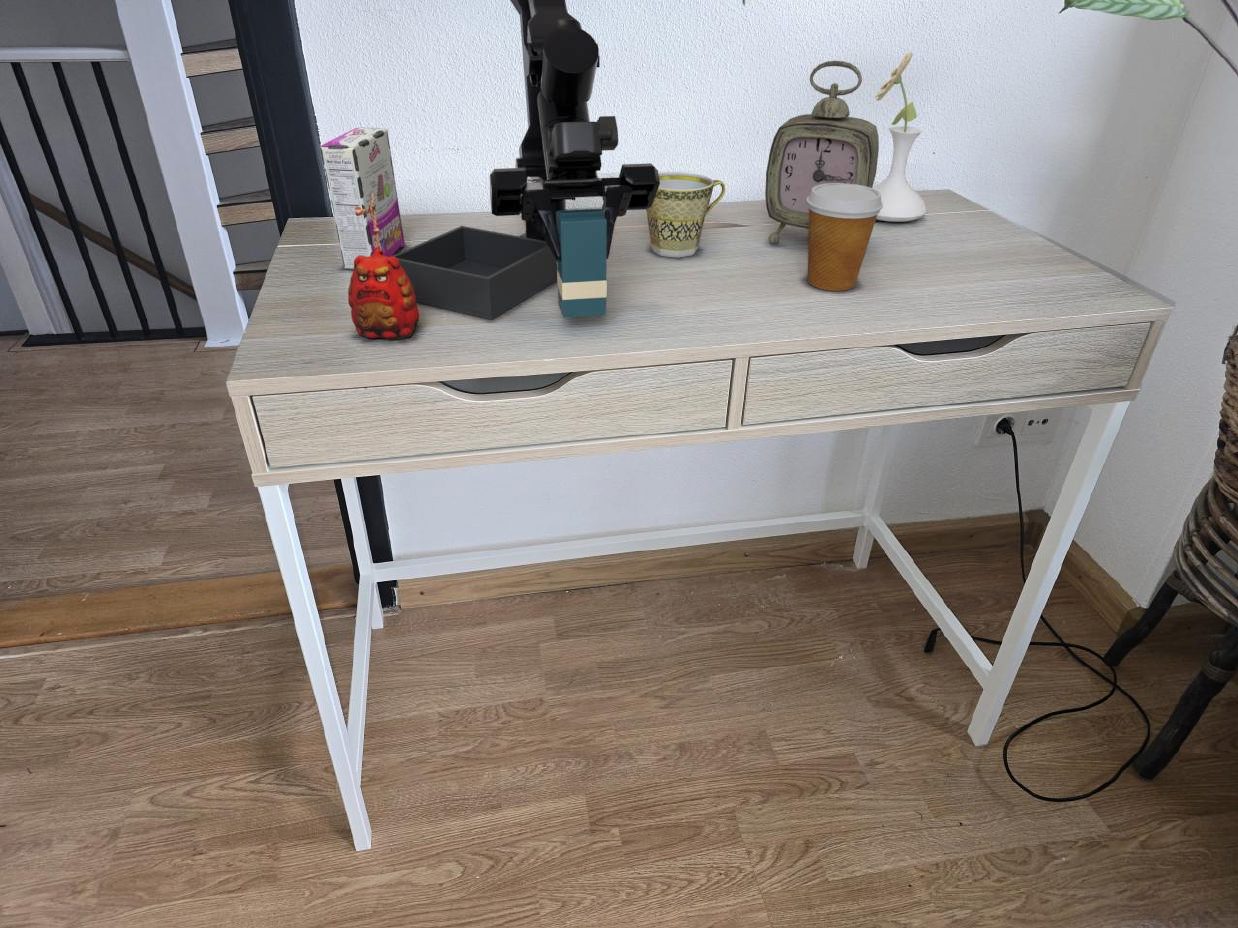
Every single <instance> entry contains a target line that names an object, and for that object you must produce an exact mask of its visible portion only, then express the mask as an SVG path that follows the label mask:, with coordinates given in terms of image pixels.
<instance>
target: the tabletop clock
mask: <svg viewBox="0 0 1238 928" xmlns="http://www.w3.org/2000/svg"><path fill="white" fill-rule="evenodd" d="M828 67H838V68H839V67H841V68H846V69H849V70H851V71H853V72H854V73H855V75H856V77H857V79H858V81H857V84H856V85H855V86H852V87H851V88H847V89H839V84H838V83H837V82H835V83H832V84H831V85H830V88H825V87H821V86H819V85H818V84H817V83H816V82H815V80H814V76H815V75H816V73H818V72H819V71H820V70H821V69H824V68H828ZM809 82H810V86H811V87H812V88H813V89H814V91H816V92H818V93H820V94H822V95H827V96H828V97H823V98H821V99H820V100H819V101H817V103H816V104H815V105H814V107H813V109H812V111H811V113H805V114H800V115H796V116H793V117H791V118H788V120H787V121H785V122H784V123H782V125H780V126H779V127H778V129H777V131H776V133H775V135H774V136H773V139H772V142H771V146H770V149H769V155H768V160H767V166H766V171H765V189H764V190H765V192H764V196H765V197H764V198H765V207H766V212H767V214H768V218H770V219H771V220H773V221H775V222H777V223H779V226H778V228H777V229H776V231H775V232H771V233H769V235H768V241H769V243H770V244H772V245H775V244H778V243H779V241H780V233H781V232H782V231H783V229H784V228H785V227H786V226H791V227H796V228H801V229H806V230H809V208H808V203H807V201H806V200H807V197H808V196H810V193H811V190H812V188H813V187H814V186H817V185H821V184H827V183H846V184H856V185H862V186H866V187H870V188H873V187H874V184H875V178H876V175H877V170H878V159H879V150H880V139H879V132H878V128H877V125H875V124H874V123H872V122H871V121H869V120H866V119H863V118H860V117H854V116H850V108H849V105H848V103H847V101H845V100H844V99H843V98H840V97H841V96H846V95H850V94H853V93H854V92H855V91H857V90H858V89H859V87H861V85H862V82H863V76H862V73H861V71H860V70H859V68H858V67H857V66H856V65H854V64H853V63H851V62H848V61H844V60H828V61H824V62H821V63H820V64H818V65H817V66H816V67H814V68H813V70H812V71H811V73H810V75H809ZM839 96H840V97H839Z"/></svg>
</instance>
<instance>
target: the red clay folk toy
mask: <svg viewBox="0 0 1238 928" xmlns="http://www.w3.org/2000/svg"><path fill="white" fill-rule="evenodd" d="M370 195H371V198H372V199H371V200H372V201H371V203H370V204H369V209H367V210H366V209H361V208H360V207H358V206H357V207H356V208H355V210H356V216H360V215H362V214H366V213H370V214H371V218H372V222H373V226H374V229H373V232H374V235H375V244H374V251H375V252H374V254H373V255H372V256H369V257H367V256H361V255H359V256H357V257H356V259H355V260H354V270H352V274H351V276H350V279H349V282H350V283H349V286H348V290H347V291H348V292H347V295H348V297H347V300H348V305H349V307H350V308H351V309H350V310H351V311H350V316H351V321H352V323H353V325H354V327H355V329H356V330H355V331H356V333H357V334H358V336H364V337H365V338H367V339H378V338H380V339H386V340H388V341H390V340H391V341H394V340H400V339H401V340H402V339H407V338H410V337H411V336H412V334H413V331H414V330H415V329H416V327H417V326H418V322H419V321H420V311H419V306H418V304H417V303H418V302H416V299H415V293H414V289H413V287H412V284H411V282H410V280H409V278H408V276H407V274H406V273H405V271H404V269H403V268H402V267H401V266H400V265H399V261H398V258H396V257H394V256H393V257H387V256H385V255H384V253H383V251H382V248H381V245H380V242H379V239H378V237H379V235H380V230H379V229H378V228H377V219H376V208H375V206H376V204H375V205H373V204H374V195H373V194H372V193H371V194H370Z"/></svg>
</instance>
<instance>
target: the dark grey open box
mask: <svg viewBox="0 0 1238 928" xmlns="http://www.w3.org/2000/svg"><path fill="white" fill-rule="evenodd" d="M520 236H521V235H513V234H509V233H503V232H498V231H491V230H487V229H482V228H476V227H471V226H466V225H460V226H458V227H456V228H453V229H451V230H449V231H447V232H444V233H442V234H439V235H437V236H435V237H432V238H430V239H427V240H425V241H423V242H421V243H418V244H417V245H413V246H412V247H409V248H407V249H404V250H402V251H400V252H396V253H395V254H394V255H393V256H394V257H396V258H398V261H399V265H400V266H401V267H402V268H403V269H404V271H405V273H406V274H407V276H408V278H409V280H410V282H411V284H412V287H413V289H414V293H415V299H416V303H418V304H421V305H422V304H423V305H427V306H430V307H431V306H432V307H435V308H439V309H444V310H449V311H451V312H452V311H453V312H457V313H460V314H465V315H470V316H473V317H478V318H482V319H487V320H491V321H492V320H494V319H496V318H498V317H499V316H501V315H502V314H504V313H506V312H507V311H509V310H511V309H512V308H514V307H516V306H517V305H519V304H521V303H522V302H524V301H526V300H527V299H529V298H531V297H532V296H534V295H536V294H538V293H539V292H541V291H542V290H544V289H546V288H548V287H549V286H551V285H553V284H554V283H556V282H557V271H558V268H557V260H556V258H555V257H554V255H553V253H552V252H551V250H550V248H549V246H548V245H547V243H546V241H541V240H536V239H530V238H525V237H520ZM393 256H391V257H393Z"/></svg>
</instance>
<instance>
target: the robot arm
mask: <svg viewBox="0 0 1238 928" xmlns="http://www.w3.org/2000/svg"><path fill="white" fill-rule="evenodd" d="M509 1H510V2H511V4H512V6H513V7H514V9H515V10H516V12H517V14H518V15H519V21H520V22H519V23H520V24H519V25H520V35H521V48H522V63H523V64H522V65H523V75H524V90H525V103H526V115H527V130H526V132H525V135H524V137H523V138H522V141H521V143H520V145H519V148H518V154H519V157H516V158H515V164H514V165H515V167H508V168H494V169H493V170H492V171H491V172H490V174H489V199H490V200H489V201H490V210H491V214H492V215H493V216H495V217H507V216H508V217H509V216H520V217H521V220H522V221H524V222H525V223H524V224H525V233H523V234H521V235H519V236H520V237H525V238H530V239H536V240H541V241H546V243H547V245H548V246H549V248H550V250H551V252H552V253H553V255H554V257H555V258H556V260H557V262H561V249H560V240H559V236H558V232H557V228H556V212H558V211H560V210H567V206H566V205H567V203H566V202H567V201H568V200H571V201H576V199H577V198H597V197H598V198H599V197H601V198H602V205H601V209H603V211H604V217H605V218H606V220H607V253H606V260H609V257H610V252H611V248H612V242H613V237H614V231H615V225H616V222H617V220H618V219H617V218H620V217H625V216H626V214H627V211H640V210H641V211H643V210H646V209H648V208H650V207H652V204H653V201H654V199H655V196H656V193H657V190H658V188H659V185H660V180H659V174H658V173H659V169H657V168H656V166H654V164H652V163H650V162H649V163H648V162H647V163H622V164H621V168H620V171H619V175H618V176H617V177H599V176H598V172H600V171H601V168H602V159H601V158H602V157H601V156H602V155H603V151H615V150H616V149H617V147H618V146H619V131H618V129H619V128H618V124H617V119H616V118H617V117H616V115H603V116H602V115H601V116H599V117H598V119H597V120H596V121H591V119H590V113H589V112H590V111H589V104H588V102H589V101H590V99H591V98H592V95H593V89H594V83H595V77H596V72H597V68H601V67H600V48H599V44H598V43H597V42H596V40H595V39H594V37H593V36H592V35H591V33H588V32H587V31H586V30H584V29H582V24H581V21H579V20H577V18H575V17H574V16H572V15H571V14H570V13H569V12H568V8H567V4H566V3H567V2H566V0H509Z"/></svg>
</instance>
